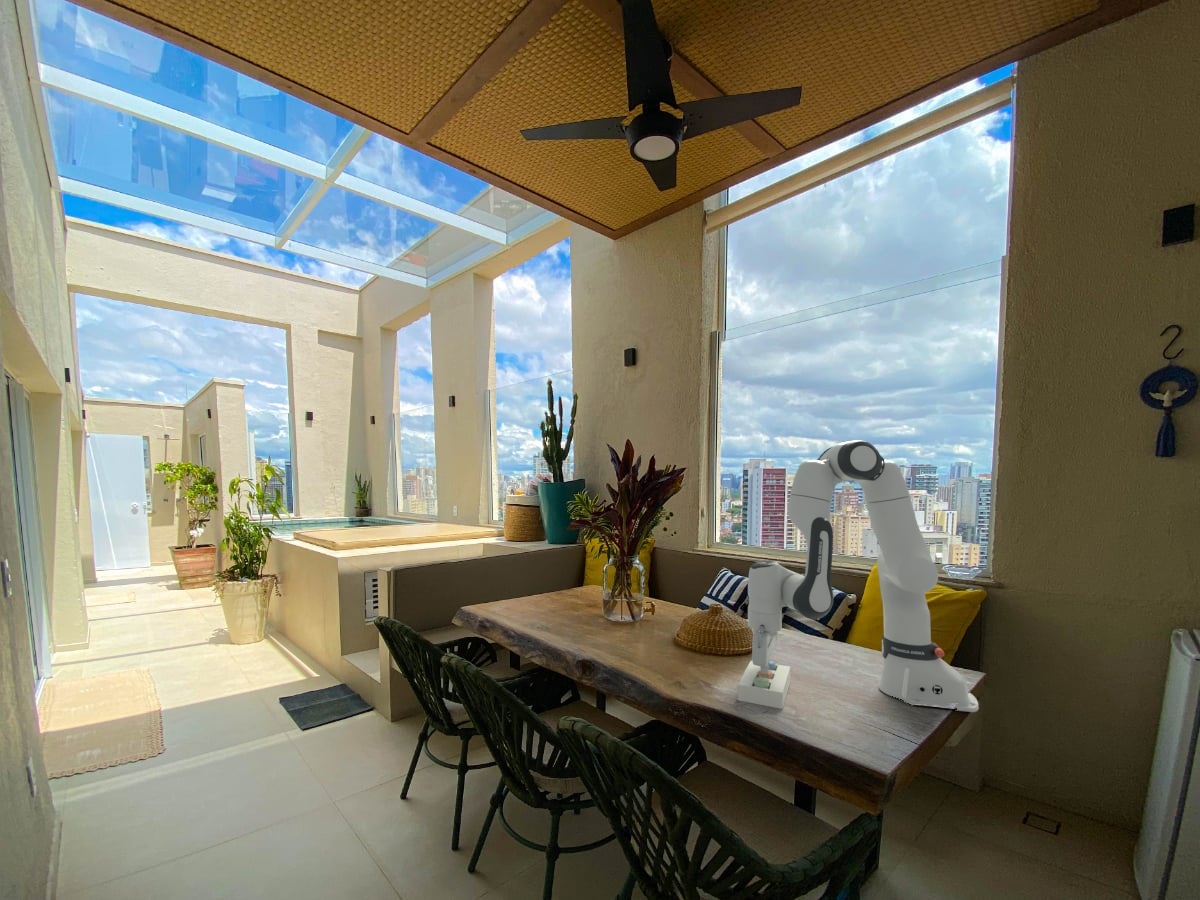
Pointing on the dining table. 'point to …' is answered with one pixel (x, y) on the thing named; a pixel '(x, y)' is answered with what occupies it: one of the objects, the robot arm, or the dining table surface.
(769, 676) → the terracotta button
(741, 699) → the button console
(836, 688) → the dining table surface
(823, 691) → the dining table surface
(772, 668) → the blue button
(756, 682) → the sage button
